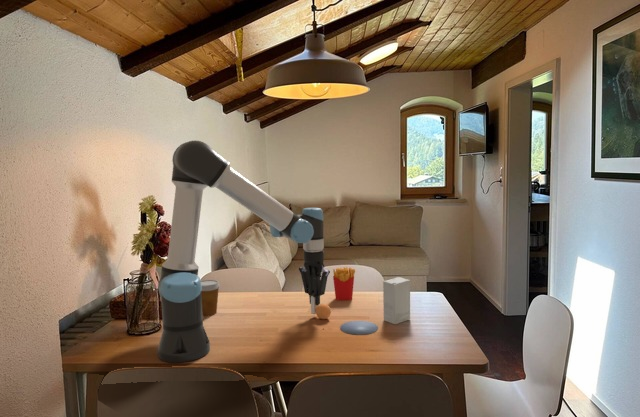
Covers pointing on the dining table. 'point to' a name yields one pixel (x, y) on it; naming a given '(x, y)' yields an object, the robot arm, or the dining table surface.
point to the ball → (323, 311)
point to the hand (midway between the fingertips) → (315, 312)
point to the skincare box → (396, 300)
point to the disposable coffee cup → (209, 296)
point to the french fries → (343, 283)
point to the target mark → (359, 327)
